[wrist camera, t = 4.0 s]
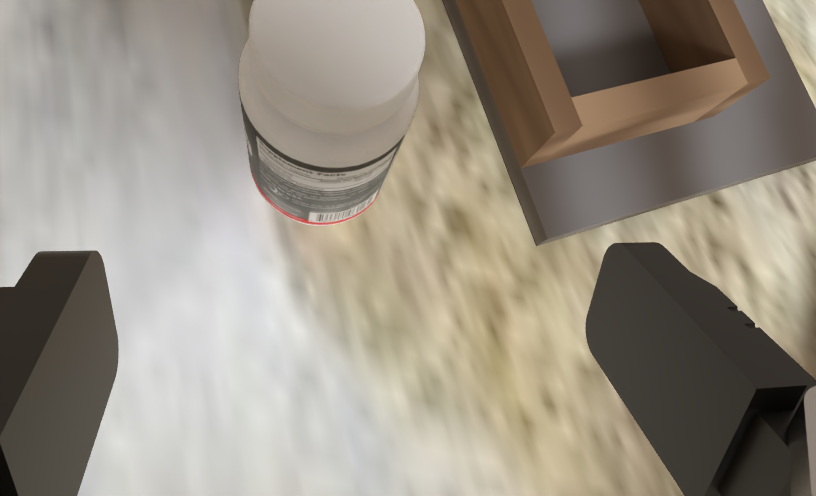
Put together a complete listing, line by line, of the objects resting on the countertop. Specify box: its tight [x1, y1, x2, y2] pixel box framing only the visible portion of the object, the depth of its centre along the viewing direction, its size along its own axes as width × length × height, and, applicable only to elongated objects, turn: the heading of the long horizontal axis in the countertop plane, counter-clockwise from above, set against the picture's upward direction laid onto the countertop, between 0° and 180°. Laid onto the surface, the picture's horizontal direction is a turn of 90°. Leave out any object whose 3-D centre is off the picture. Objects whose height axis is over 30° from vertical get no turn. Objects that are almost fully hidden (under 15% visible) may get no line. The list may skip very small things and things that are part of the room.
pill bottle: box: [238, 0, 425, 226], centre depth 18 cm, size 5×5×8 cm
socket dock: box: [443, 0, 816, 246], centre depth 24 cm, size 13×14×4 cm
